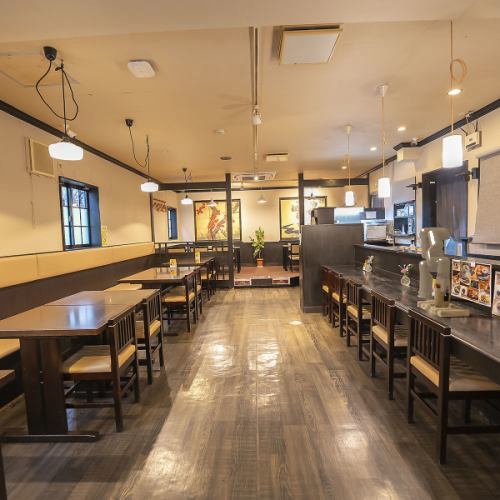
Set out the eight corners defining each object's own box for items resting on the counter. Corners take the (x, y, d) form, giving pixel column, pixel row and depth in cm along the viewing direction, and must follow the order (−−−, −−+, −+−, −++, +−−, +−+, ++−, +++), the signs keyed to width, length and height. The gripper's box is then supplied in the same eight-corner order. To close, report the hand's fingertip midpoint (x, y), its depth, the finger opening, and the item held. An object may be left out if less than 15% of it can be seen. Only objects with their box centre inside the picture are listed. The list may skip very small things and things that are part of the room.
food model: (435, 309, 217) (436, 282, 216) (432, 307, 224) (433, 280, 222) (450, 310, 214) (452, 282, 212) (448, 308, 220) (449, 281, 219)
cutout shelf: (417, 306, 231) (417, 301, 231) (442, 305, 232) (442, 300, 232) (440, 316, 205) (440, 311, 205) (469, 316, 206) (469, 310, 206)
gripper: (430, 273, 225) (429, 297, 227) (446, 277, 208) (445, 303, 209) (440, 273, 225) (439, 296, 227) (457, 277, 208) (456, 302, 210)
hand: (442, 299), depth 218 cm, fingers closed on food model, 7 cm apart
